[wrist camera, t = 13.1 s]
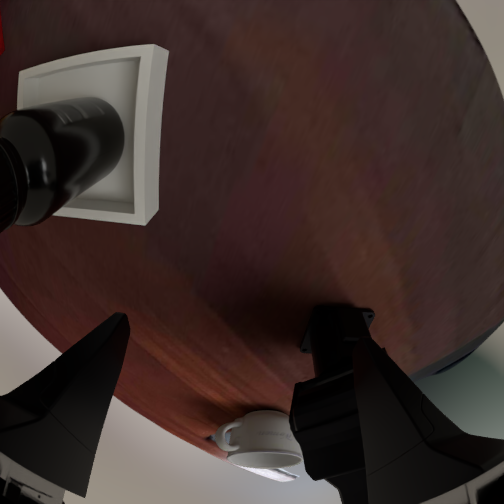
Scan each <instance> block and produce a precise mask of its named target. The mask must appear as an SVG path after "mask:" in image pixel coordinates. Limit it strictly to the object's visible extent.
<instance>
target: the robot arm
mask: <svg viewBox="0 0 504 504" xmlns="http://www.w3.org/2000/svg"><path fill="white" fill-rule="evenodd" d="M317 311H319V312H317ZM374 317H375V313H374V311H373V310H365V309H352V308H339V307H328V306H316V307H315V308H314V310H313V312H312V315H311V318H310V321H309V324H308V326H307V329H306V332H305V335H304V337H303V340H302V343H301V345H300V352H302V353H312V358H313V365H314V372H315V378H313V379H310V380H307V381H304V382H299V383H296V384H295V387H294V392H293V398H292V404H291V410H290V416H289V424H290V430H291V431H292V433H293V436H294V438H295V440H296V441H297V442H298V443H299V445H300V448H301V451H302V455H303V459H304V464H305V470H306V472H307V474H308V475H309V476H310V477H311V478H312V479H313V480H315V481H317V480H321V479H325V480H326V481H327V482H329V483H330V484H331V485H333V486H334V487H335V488H337V489H338V491H339V494H340V498H341V501H342V504H504V440H503V439H495V438H488V437H481V436H475V435H470V434H468V433H466V432H464V431H462V430H461V429H460V428H459V427H457V426H456V425H455V424H454V423H453V422H452V421H451V420H450V419H449V418H448V417H446V416H445V415H444V414H443V413H442V412H441V411H440V410H439V409H438V408H437V407H436V406H435V405H434V404H433V403H432V402H431V401H430V400H429V399H428V398H427V397H426V396H425V394H423V393H422V391H421V390H420V389H419V388H418V387H417V386H416V385H415V384H414V383H413V382H412V380H411V379H410V378H409V377H408V376H407V375H406V374H405V373H404V372H403V371H402V370H401V369H400V368H399V367H398V365H397V364H396V363H395V362H394V361H393V360H392V359H391V358H390V357H389V356H388V354H387V352H386V349H385V347H384V348H382V349H381V347H380V346H379V345H378V344H377V343H376V342H375V341H374V340H373V339H372V337H371V335H370V332H369V327H370V325H371V323H372V321H373V319H374ZM129 336H130V325H129V321H128V317H127V315H126V314H125V313H120V312H116V313H114V314H113V315H112V316H110V317H109V318H108V319H106V320H105V321H104V322H103V323H101V324H100V325H99V326H97V327H96V328H95V329H94V330H92V331H91V332H90V333H88V334H87V335H86V336H85V337H83V338H82V339H81V340H80V341H78V342H77V343H76V344H74V345H73V346H72V347H71V348H69V349H68V350H67V351H66V352H64V353H63V354H62V355H61V356H59V357H58V358H57V359H56V360H55V361H53V362H52V363H51V364H50V365H48V366H47V367H46V368H44V369H43V370H42V371H41V372H39V373H38V374H36V375H35V376H34V377H32V378H31V379H29V380H28V381H26V382H25V383H23V384H22V385H20V386H19V387H17V388H16V389H14V390H13V391H11V392H9V393H8V394H5V395H3V396H0V504H65V503H64V502H63V497H64V493H65V490H68V491H70V492H72V493H75V494H77V495H79V496H81V497H84V498H85V496H86V492H87V488H88V483H89V479H90V475H91V470H92V466H93V462H94V458H95V454H96V450H97V446H98V443H99V439H100V435H101V431H102V428H103V424H104V421H105V418H106V415H107V411H108V408H109V405H110V402H111V399H112V396H113V393H114V390H115V387H116V384H117V381H118V378H119V375H120V372H121V369H122V365H123V361H124V357H125V353H126V348H127V344H128V340H129Z"/></svg>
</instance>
